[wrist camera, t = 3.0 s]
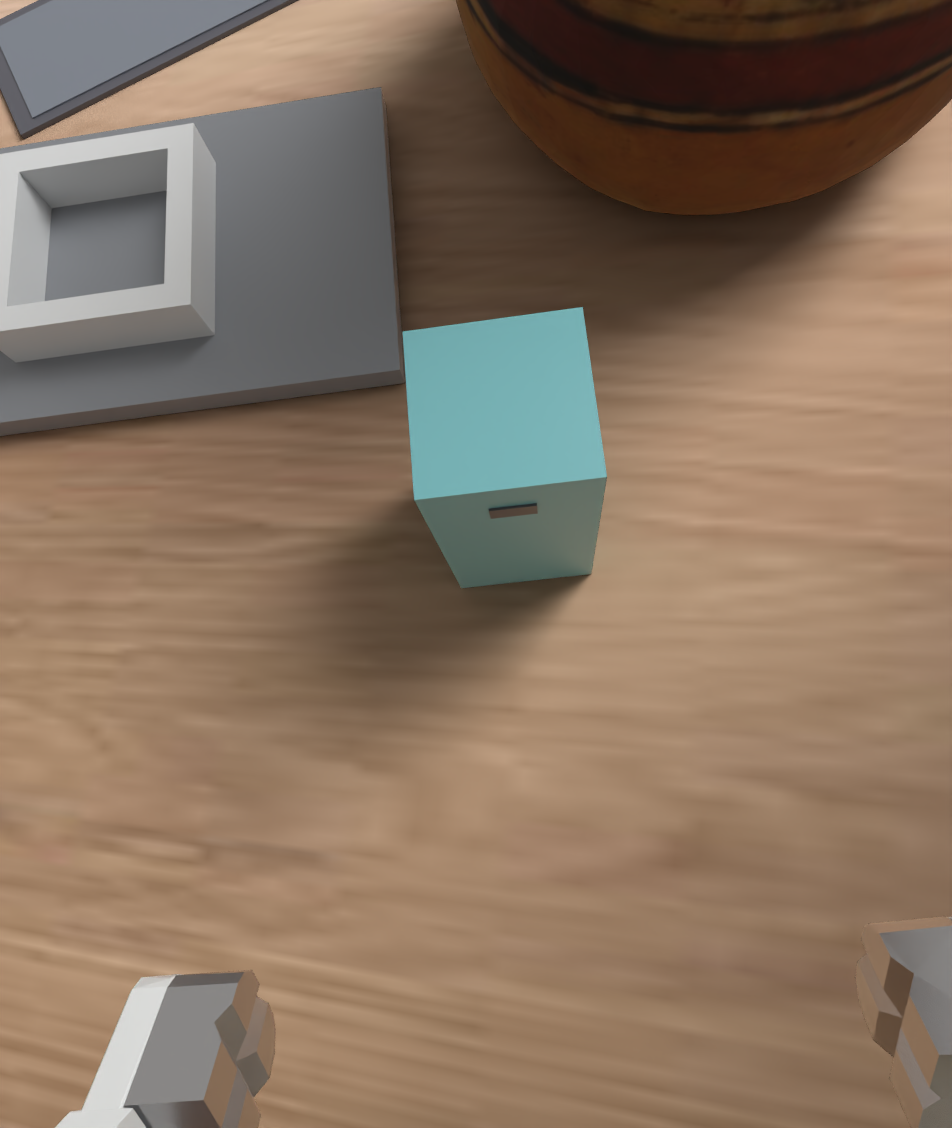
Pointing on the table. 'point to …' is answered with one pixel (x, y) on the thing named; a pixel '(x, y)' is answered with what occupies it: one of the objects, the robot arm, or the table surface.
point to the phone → (104, 48)
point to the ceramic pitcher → (714, 91)
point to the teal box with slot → (507, 445)
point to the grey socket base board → (198, 264)
